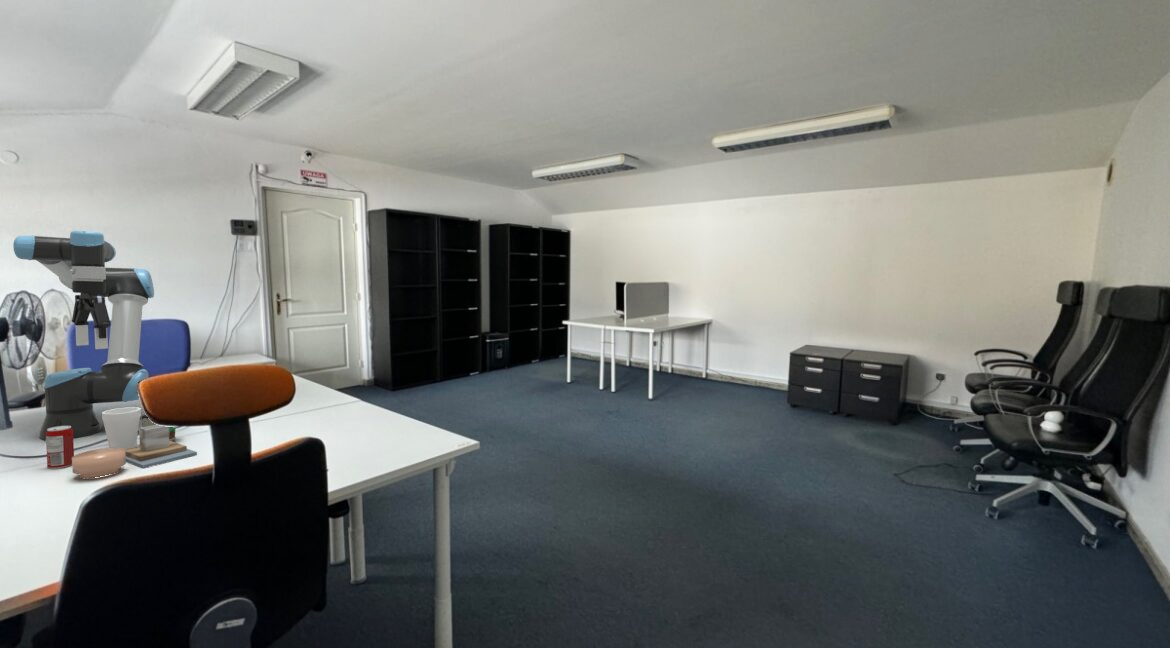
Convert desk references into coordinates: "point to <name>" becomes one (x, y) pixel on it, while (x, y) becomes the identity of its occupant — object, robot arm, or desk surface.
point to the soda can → (59, 447)
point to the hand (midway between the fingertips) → (91, 347)
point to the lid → (154, 444)
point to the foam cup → (122, 426)
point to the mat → (161, 459)
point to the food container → (147, 422)
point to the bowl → (98, 462)
